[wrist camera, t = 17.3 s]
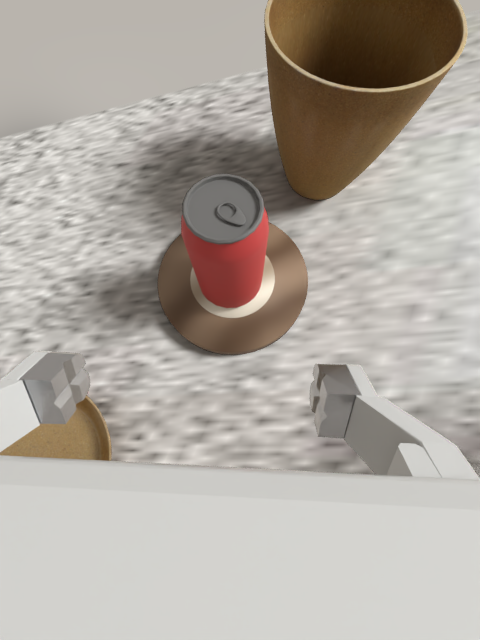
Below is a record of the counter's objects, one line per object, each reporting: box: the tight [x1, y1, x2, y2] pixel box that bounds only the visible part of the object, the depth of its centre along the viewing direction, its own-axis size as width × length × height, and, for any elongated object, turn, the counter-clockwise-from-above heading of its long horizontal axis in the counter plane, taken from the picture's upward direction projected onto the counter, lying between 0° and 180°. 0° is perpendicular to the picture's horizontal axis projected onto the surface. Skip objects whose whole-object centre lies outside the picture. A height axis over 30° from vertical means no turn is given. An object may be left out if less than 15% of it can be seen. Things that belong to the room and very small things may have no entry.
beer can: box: [181, 174, 269, 308], centre depth 26 cm, size 7×7×12 cm
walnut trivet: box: [158, 222, 308, 355], centre depth 32 cm, size 16×16×2 cm
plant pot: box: [264, 0, 467, 200], centre depth 29 cm, size 15×15×16 cm
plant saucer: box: [0, 395, 111, 461], centre depth 27 cm, size 15×15×3 cm
